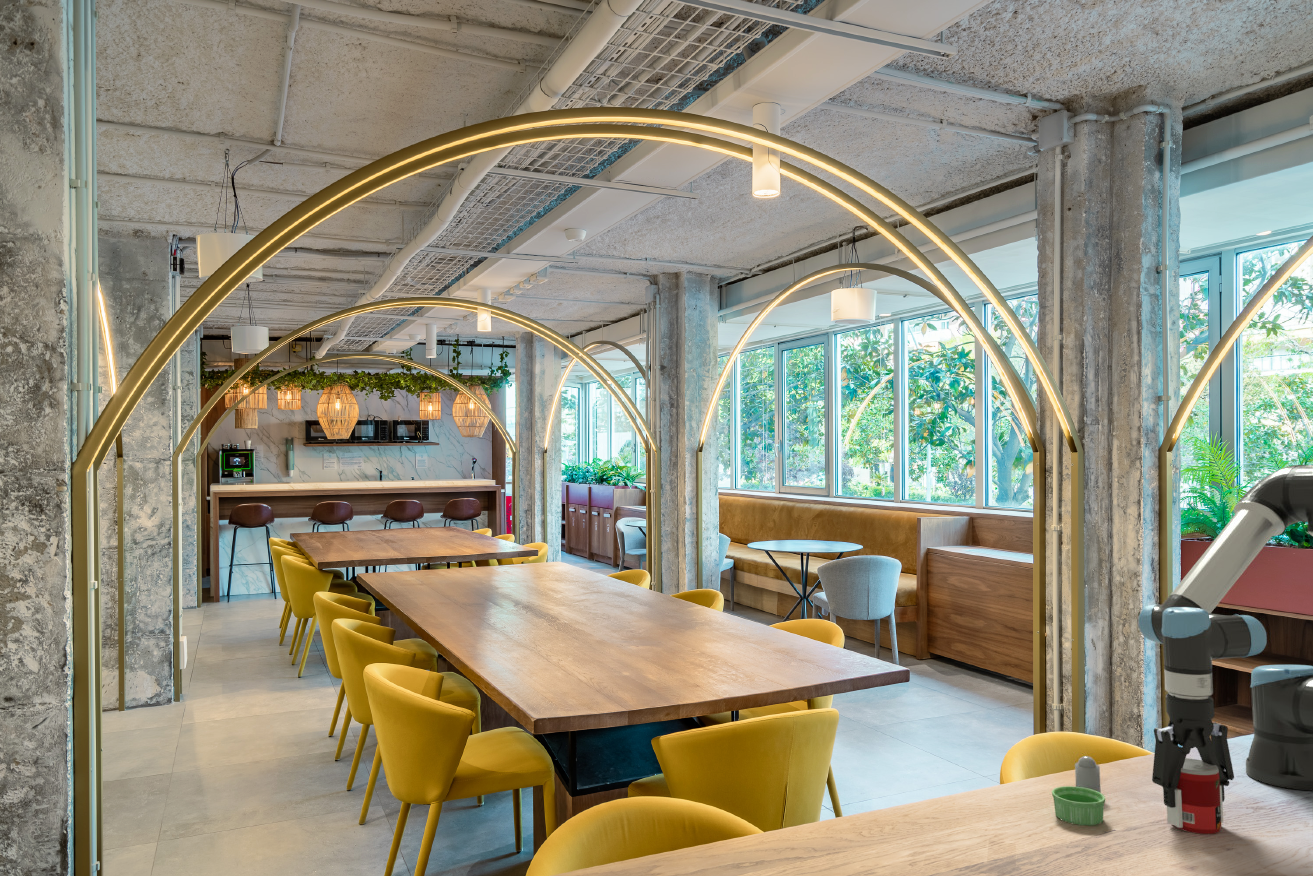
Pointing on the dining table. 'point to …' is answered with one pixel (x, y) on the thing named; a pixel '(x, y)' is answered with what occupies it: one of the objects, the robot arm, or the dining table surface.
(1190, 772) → the canned food
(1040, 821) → the dining table surface
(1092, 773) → the pepper pot
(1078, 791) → the ramekin
